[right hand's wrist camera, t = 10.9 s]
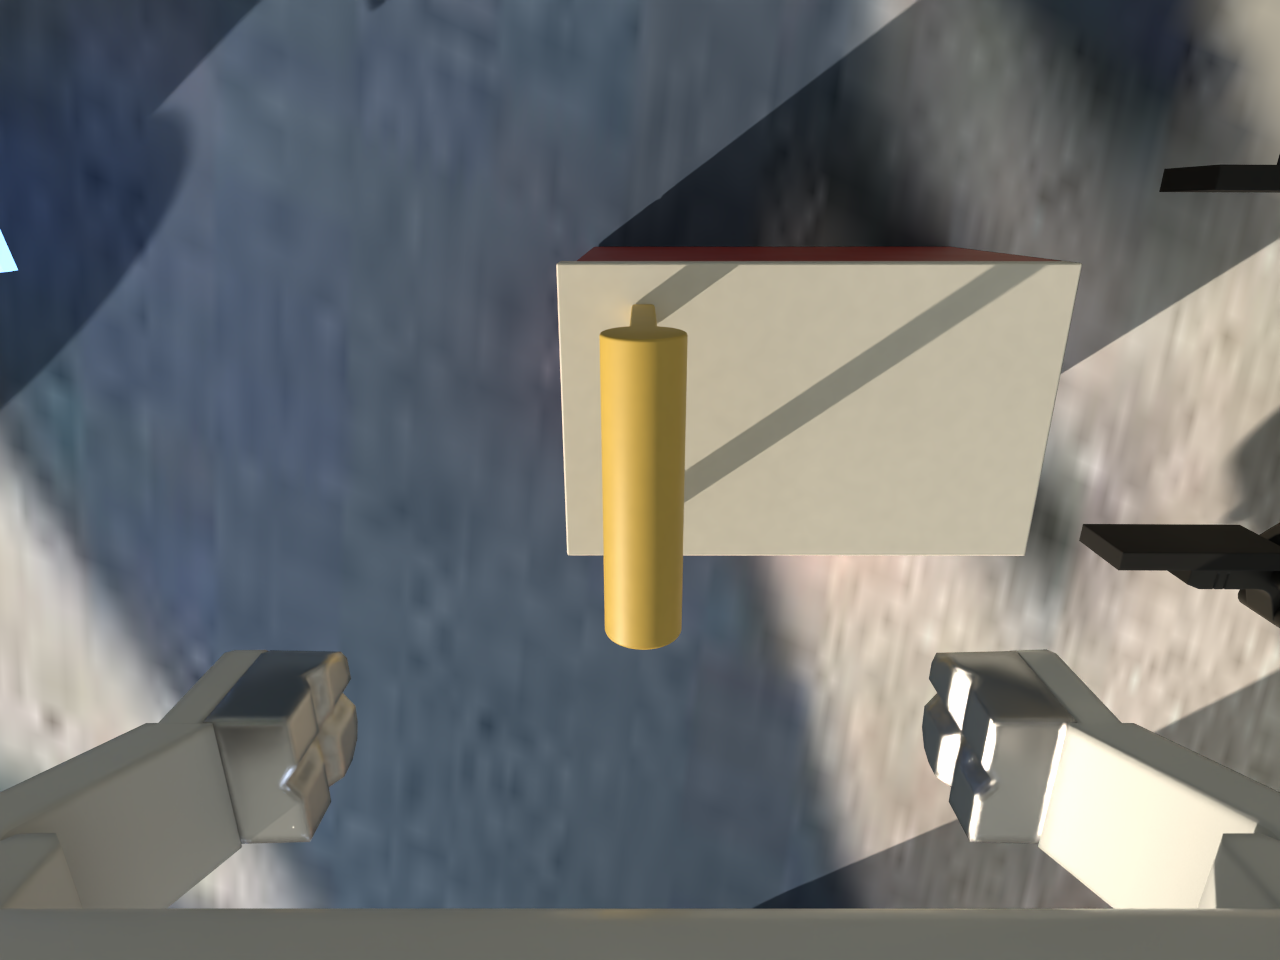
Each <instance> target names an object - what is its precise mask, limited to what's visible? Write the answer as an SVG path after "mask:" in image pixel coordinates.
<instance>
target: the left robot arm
mask: <svg viewBox="0 0 1280 960" xmlns="http://www.w3.org/2000/svg"><path fill="white" fill-rule="evenodd" d="M1159 192H1280V155H1279V159H1278V162H1277V165H1210V166H1197V167H1184V168H1171V169H1165V170H1164V174H1163V178H1162V183H1161V187H1160V191H1159ZM1079 541H1081V542H1082V543H1083V544H1085V545H1086V546H1087V547H1089V548H1090V549H1091V550H1092V551H1094V552H1095V553H1096V554H1098V555H1099V556H1100V557H1102V558H1103V559H1104V560H1106V561H1107V562H1108V563H1110V564H1111V565H1112V566H1114V567H1115V568H1116V569H1118V570H1167V571H1169V572H1170V573H1172V574H1173V575H1175V576H1176V577H1178V578H1179V579H1180V580H1182V581H1183V582H1185V583H1186V584H1188V585H1190V586H1193V587H1195V588H1198V589H1212V588H1213V589H1240V591H1239V593H1238V599H1239V601H1240V602H1241V603H1242V604H1244V605H1246V606H1247V607H1249V608H1250V609H1251V610H1253V611H1254V612H1256V613H1257V614H1259V615H1261V616H1262V617H1264V618H1265V619H1267V620H1268V621H1270V622H1271V623H1273V624H1274V625H1276V626H1277V627H1279V628H1280V523H1278V524H1277V525H1275V526H1273V527H1272V528H1270V529H1268V530H1267V531H1265V532H1264V533H1262V534H1260V535H1258V534H1256V533H1254V532H1252V531H1250V530H1248V529H1247V528H1245V527H1243V526H1241V525H1161V524H1083V527H1082V531H1081V536H1080V540H1079Z"/></svg>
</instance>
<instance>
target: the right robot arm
mask: <svg viewBox="0 0 1280 960" xmlns="http://www.w3.org/2000/svg"><path fill="white" fill-rule="evenodd" d="M15 270H18V269H17V267H16V264H15V262H14V260H13V258H12V255H11V253H10V251H9V249H8V246H7V244H6V242H5V240H4V237H3V235H2V233H1V231H0V272H9V271H15ZM350 680H351V676H350V671H349V666H348V661H347V658H346V657H345V656H344V655H343V654H342V653H341V652H330V651H281V650H270V651H267V650H234V651H230V652H226V653H224V654H223V655H222V656H221V657H220V658H219V660H218V661H217V662H216V663H215V664H214V665H213V666H212V667H211V668H210V669H209V670H208V671H207V672H206V673H205V674H204V675H203V676H202V677H201V679H200V680H199V681H198V682H197V683H196V684H195V685H194V686H193V687H192V688H191V689H190V690H189V691H188V692H187V693H186V694H185V695H184V696H183V698H182V699H181V700H180V701H179V702H178V703H177V704H176V705H175V706H174V707H173V708H172V709H171V710H170V711H169V712H168V713H167V714H166V715H165V717H164V718H163V719H162V720H161V721H160V722H159V723H146V724H143V725H141V726H139V727H137V728H135V729H133V730H131V731H129V732H127V733H124V734H122V735H120V736H118V737H116V738H114V739H112V740H110V741H108V742H105V743H103V744H101V745H99V746H97V747H95V748H93V749H91V750H89V751H87V752H84V753H82V754H80V755H78V756H76V757H74V758H72V759H70V760H68V761H65V762H63V763H61V764H59V765H57V766H55V767H53V768H51V769H49V770H46V771H44V772H42V773H40V774H38V775H36V776H34V777H32V778H30V779H27V780H25V781H23V782H21V783H19V784H17V785H15V786H13V787H11V788H8V789H6V790H4V791H2V792H0V960H1280V792H1277V791H1275V790H1273V789H1271V788H1269V787H1267V786H1265V785H1263V784H1261V783H1259V782H1256V781H1254V780H1252V779H1250V778H1248V777H1246V776H1244V775H1242V774H1240V773H1238V772H1235V771H1233V770H1231V769H1229V768H1227V767H1225V766H1223V765H1221V764H1219V763H1216V762H1214V761H1212V760H1210V759H1208V758H1206V757H1204V756H1202V755H1200V754H1198V753H1195V752H1193V751H1191V750H1189V749H1187V748H1185V747H1183V746H1181V745H1179V744H1177V743H1174V742H1172V741H1170V740H1168V739H1166V738H1164V737H1162V736H1160V735H1158V734H1155V733H1153V732H1151V731H1149V730H1147V729H1145V728H1143V727H1141V726H1139V725H1137V724H1134V723H1121V722H1120V721H1119V720H1118V719H1117V718H1116V716H1115V715H1114V714H1113V713H1112V712H1111V711H1110V710H1109V709H1108V708H1107V707H1106V706H1105V705H1104V704H1103V703H1102V702H1101V701H1100V700H1099V698H1098V697H1097V696H1096V695H1095V694H1094V693H1093V692H1092V691H1091V690H1090V689H1089V688H1088V687H1087V686H1086V685H1085V684H1084V683H1083V682H1082V681H1081V679H1080V678H1079V677H1078V676H1077V675H1076V674H1075V673H1074V672H1073V671H1072V670H1071V669H1070V668H1069V667H1068V666H1067V665H1066V664H1065V663H1064V661H1063V660H1062V659H1061V658H1060V657H1059V656H1058V655H1057V654H1056V653H1053V652H1051V651H1049V650H1020V651H1000V652H955V653H936V655H935V657H934V659H933V661H932V664H931V670H930V676H929V680H930V681H931V683H932V685H933V686H934V688H935V690H936V691H937V694H936V695H935V696H934V697H933V698H932V699H931V700H930V701H929V702H928V703H927V704H926V705H925V707H924V716H923V724H922V730H923V741H924V749H925V752H926V755H927V759H928V762H929V764H930V766H931V768H932V770H933V772H934V774H935V776H936V777H937V778H939V779H940V780H942V781H943V782H945V783H946V784H947V785H949V786H950V787H951V792H950V798H949V803H950V805H951V807H952V809H953V810H954V812H955V814H956V816H957V818H958V820H959V822H960V824H961V826H962V827H963V829H964V831H965V833H966V835H967V837H968V839H969V841H970V842H995V843H1031V844H1039V845H1038V847H1039V848H1040V849H1041V850H1043V851H1044V852H1045V853H1046V854H1047V855H1049V856H1050V857H1051V858H1052V859H1054V860H1055V861H1056V862H1057V863H1058V864H1060V865H1061V866H1062V867H1063V868H1065V869H1066V870H1067V871H1068V872H1070V873H1071V874H1072V875H1073V876H1074V877H1076V878H1077V879H1078V880H1079V881H1081V882H1082V883H1083V884H1084V885H1085V886H1087V887H1088V888H1089V889H1090V890H1092V891H1093V892H1094V893H1095V894H1096V895H1098V896H1099V897H1100V898H1101V899H1103V900H1104V901H1105V902H1106V903H1107V904H1109V905H1110V906H1111V907H1112V908H1114V909H167V908H168V907H169V906H170V905H172V904H173V903H174V902H175V901H176V900H178V899H179V898H180V897H181V896H183V895H184V894H185V893H186V892H187V891H189V890H190V889H191V888H192V887H194V886H195V885H196V884H197V883H199V882H200V881H201V880H202V879H203V878H205V877H206V876H207V875H208V874H210V873H211V872H212V871H213V870H214V869H216V868H217V867H218V866H219V865H221V864H222V863H223V862H224V861H226V860H227V859H228V858H229V857H230V856H232V855H233V854H234V853H235V852H237V851H238V850H239V849H240V848H241V847H242V845H241V844H249V843H283V842H310V841H311V839H312V837H313V835H314V833H315V831H316V829H317V828H318V826H319V824H320V822H321V820H322V818H323V816H324V814H325V812H326V811H327V809H328V807H329V805H330V803H331V798H330V792H329V787H330V786H331V785H333V784H334V783H335V782H337V781H338V780H340V779H341V778H343V777H344V776H345V774H346V772H347V770H348V768H349V766H350V764H351V762H352V759H353V755H354V751H355V746H356V742H357V724H358V721H357V714H356V707H355V705H354V704H353V703H352V702H351V701H350V700H349V699H348V698H347V697H346V696H345V695H344V694H343V691H344V690H345V688H346V686H347V685H348V683H349V681H350Z"/></svg>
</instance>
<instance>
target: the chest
mask: <svg viewBox="0 0 1280 960" xmlns="http://www.w3.org/2000/svg"><path fill="white" fill-rule="evenodd" d="M577 261H1060V260H1052V259H1044V258H1036V257H1028V256H1020V255H1012V254H1004V253H996V252H988V251H980V250H972V249H964V248H956V247H594V248H592V249H591V250H590V251H589V252H587V253H586V254H585V255H584V256H582V257H581V258H580V259H579V260H577Z"/></svg>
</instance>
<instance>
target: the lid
mask: <svg viewBox="0 0 1280 960" xmlns="http://www.w3.org/2000/svg"><path fill="white" fill-rule="evenodd" d="M556 267H557V293H558V320H559V346H560V372H561V399H562V425H563V452H564V478H565V505H566V531H567V554H568V555H604V602H605V631H606V633H607V635H608V637H609V638H610V639H611V640H612V641H613V642H615V643H617V644H619V645H621V646H624V647H627V648H632V649H655V648H659V647H663V646H666V645H668V644H670V643H672V642H673V641H674V640H676V639H677V637H678V636H679V634H680V632H681V622H682V576H683V555H901V556H1024V555H1025V551H1026V546H1027V541H1028V536H1029V531H1030V526H1031V521H1032V516H1033V511H1034V506H1035V501H1036V496H1037V491H1038V486H1039V481H1040V476H1041V470H1042V465H1043V460H1044V455H1045V450H1046V445H1047V440H1048V435H1049V430H1050V425H1051V420H1052V415H1053V410H1054V405H1055V400H1056V394H1057V389H1058V384H1059V379H1060V374H1061V369H1062V364H1063V359H1064V354H1065V349H1066V344H1067V339H1068V334H1069V329H1070V324H1071V319H1072V313H1073V308H1074V303H1075V298H1076V293H1077V288H1078V283H1079V278H1080V273H1081V268H1082V264H1081V263H1077V262H1069V261H561V262H559V263H557V265H556Z"/></svg>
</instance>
